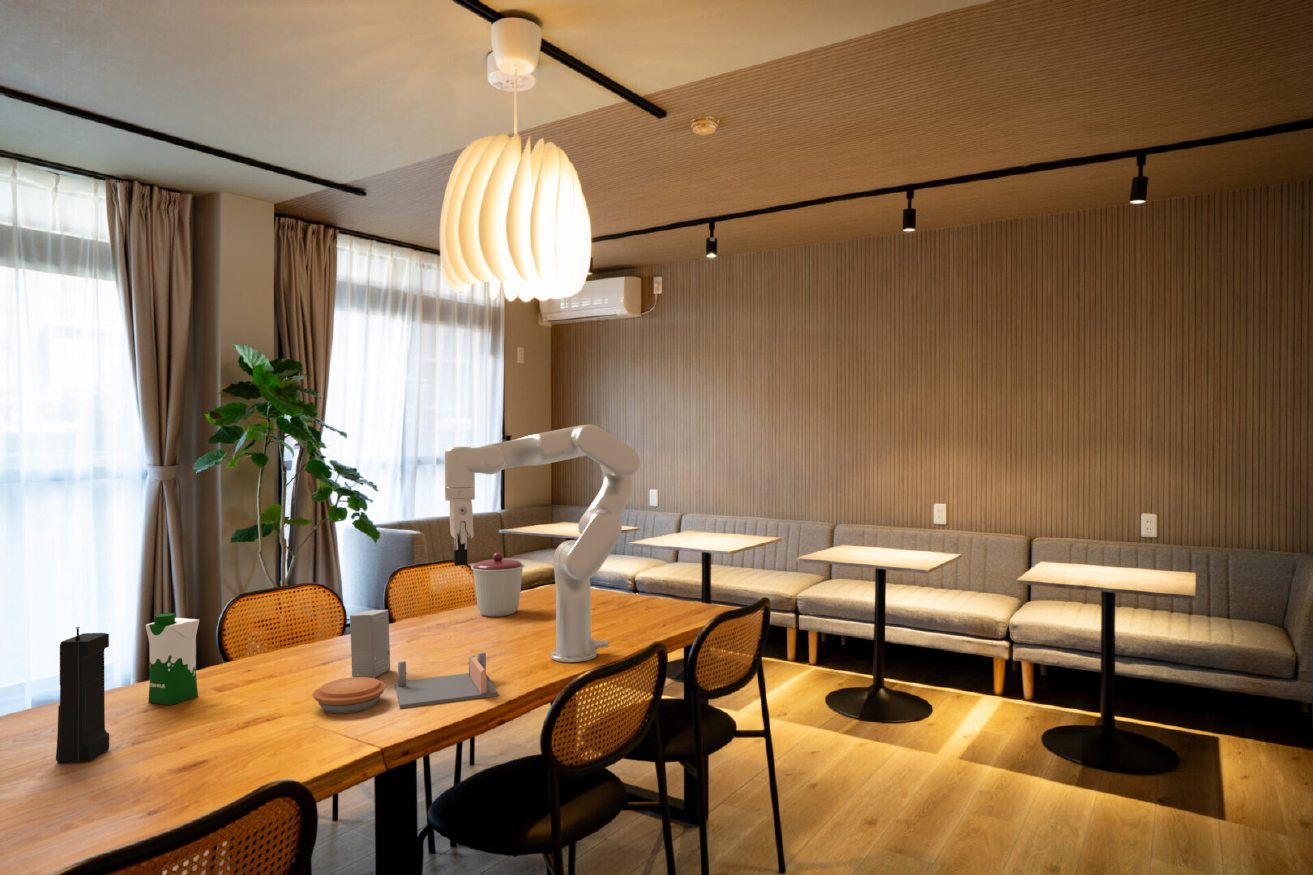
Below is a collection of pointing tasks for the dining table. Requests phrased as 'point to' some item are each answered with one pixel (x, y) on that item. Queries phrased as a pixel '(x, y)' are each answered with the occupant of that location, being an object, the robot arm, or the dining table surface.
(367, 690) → the pie
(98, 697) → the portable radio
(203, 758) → the dining table surface
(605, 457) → the robot arm
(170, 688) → the milk carton
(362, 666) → the skincare box
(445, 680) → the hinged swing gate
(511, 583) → the canister
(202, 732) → the dining table surface
